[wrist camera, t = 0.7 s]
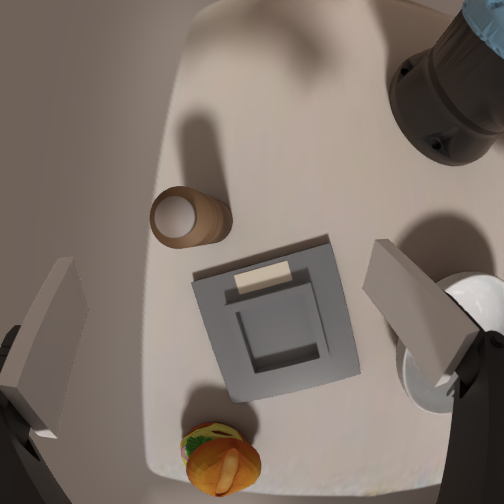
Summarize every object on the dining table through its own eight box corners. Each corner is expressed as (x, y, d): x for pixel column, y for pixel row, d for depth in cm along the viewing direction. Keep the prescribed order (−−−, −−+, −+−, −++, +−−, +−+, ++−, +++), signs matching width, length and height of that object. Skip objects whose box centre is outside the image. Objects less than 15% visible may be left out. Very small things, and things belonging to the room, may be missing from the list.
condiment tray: (329, 242, 34) (332, 243, 31) (359, 370, 34) (363, 379, 32) (193, 281, 36) (186, 284, 33) (234, 400, 36) (230, 410, 34)
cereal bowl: (397, 408, 34) (413, 438, 27) (368, 298, 34) (386, 313, 27) (496, 355, 32) (523, 373, 25) (480, 246, 32) (512, 249, 25)
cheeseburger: (169, 422, 38) (159, 461, 28) (241, 402, 39) (249, 440, 29) (196, 472, 38) (194, 514, 28) (263, 454, 39) (275, 495, 29)
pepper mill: (225, 193, 35) (194, 175, 23) (238, 236, 35) (212, 238, 23) (185, 207, 35) (138, 196, 24) (196, 248, 36) (154, 257, 24)
